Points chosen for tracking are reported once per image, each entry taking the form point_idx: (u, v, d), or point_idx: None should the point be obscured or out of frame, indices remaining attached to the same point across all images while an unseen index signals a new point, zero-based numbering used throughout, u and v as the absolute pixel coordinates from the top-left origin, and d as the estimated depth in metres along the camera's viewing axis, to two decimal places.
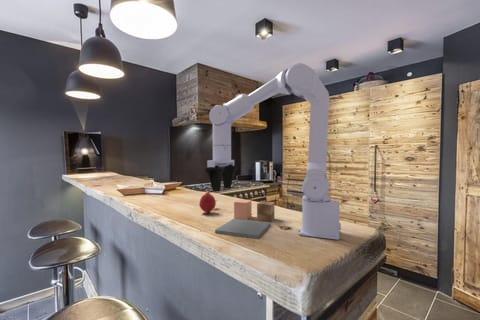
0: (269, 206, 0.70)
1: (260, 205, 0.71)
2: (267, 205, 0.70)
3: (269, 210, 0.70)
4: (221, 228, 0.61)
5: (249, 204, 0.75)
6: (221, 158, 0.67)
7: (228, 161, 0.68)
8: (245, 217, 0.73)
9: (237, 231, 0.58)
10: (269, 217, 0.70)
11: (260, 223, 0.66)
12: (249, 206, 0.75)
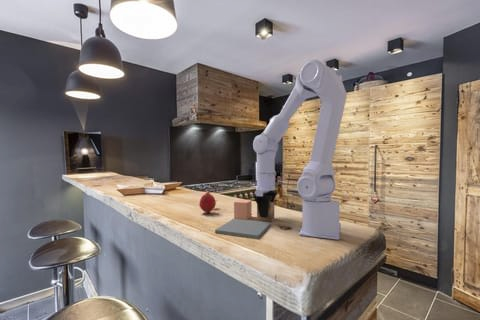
0: (269, 206, 0.70)
1: None
2: None
3: (269, 210, 0.70)
4: (221, 228, 0.61)
5: (249, 204, 0.75)
6: (267, 186, 0.70)
7: (273, 188, 0.70)
8: (245, 217, 0.73)
9: (237, 231, 0.58)
10: (269, 217, 0.70)
11: (260, 223, 0.66)
12: (249, 206, 0.75)
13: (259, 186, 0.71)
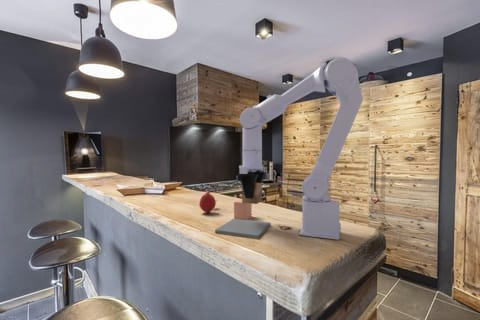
0: (255, 186, 0.64)
1: None
2: None
3: (255, 190, 0.64)
4: (221, 228, 0.61)
5: (249, 204, 0.75)
6: (253, 164, 0.64)
7: (260, 167, 0.64)
8: (245, 217, 0.73)
9: (237, 231, 0.58)
10: (255, 198, 0.64)
11: (260, 223, 0.66)
12: (249, 206, 0.75)
13: (244, 164, 0.65)
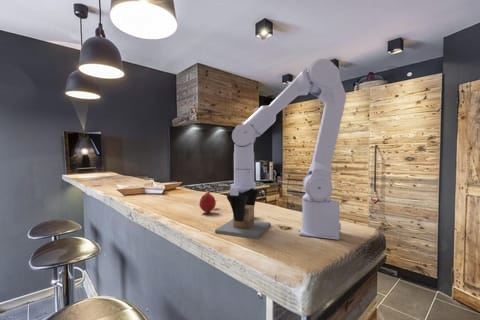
0: (246, 210, 0.60)
1: None
2: None
3: (246, 215, 0.60)
4: (221, 228, 0.61)
5: None
6: (244, 184, 0.60)
7: (252, 187, 0.61)
8: None
9: (237, 231, 0.58)
10: (246, 223, 0.60)
11: (260, 223, 0.66)
12: None
13: (236, 184, 0.61)
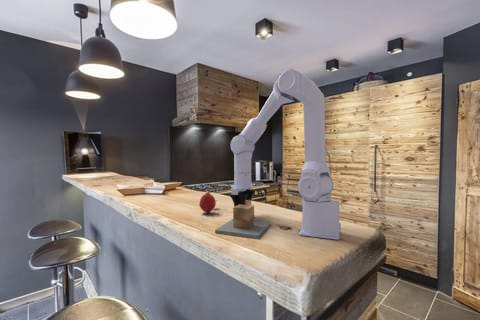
0: (246, 210, 0.60)
1: (236, 209, 0.61)
2: (244, 209, 0.61)
3: (246, 215, 0.60)
4: (221, 228, 0.61)
5: (249, 204, 0.75)
6: (243, 185, 0.73)
7: (249, 187, 0.73)
8: None
9: (237, 231, 0.58)
10: (246, 223, 0.60)
11: (260, 223, 0.66)
12: None
13: (236, 185, 0.74)
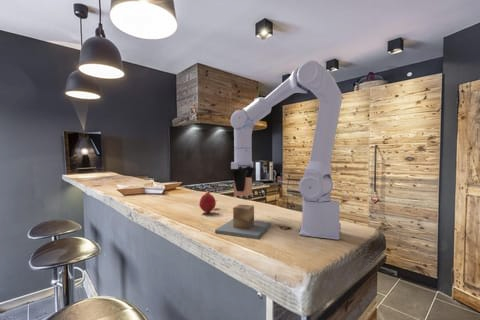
0: (246, 210, 0.60)
1: (236, 209, 0.61)
2: (244, 209, 0.61)
3: (246, 215, 0.60)
4: (221, 228, 0.61)
5: (249, 181, 0.73)
6: (243, 161, 0.71)
7: (249, 163, 0.72)
8: (245, 193, 0.71)
9: (237, 231, 0.58)
10: (246, 223, 0.60)
11: (260, 223, 0.66)
12: (249, 183, 0.73)
13: (236, 161, 0.72)
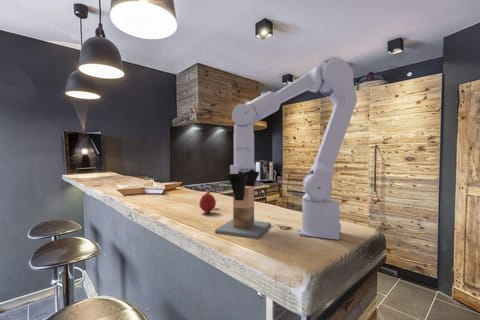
0: (246, 210, 0.60)
1: (236, 209, 0.61)
2: (244, 209, 0.61)
3: (246, 215, 0.60)
4: (221, 228, 0.61)
5: (251, 190, 0.63)
6: (244, 164, 0.60)
7: (252, 166, 0.61)
8: (246, 205, 0.60)
9: (237, 231, 0.58)
10: (246, 223, 0.60)
11: (260, 223, 0.66)
12: (251, 193, 0.63)
13: (236, 164, 0.61)
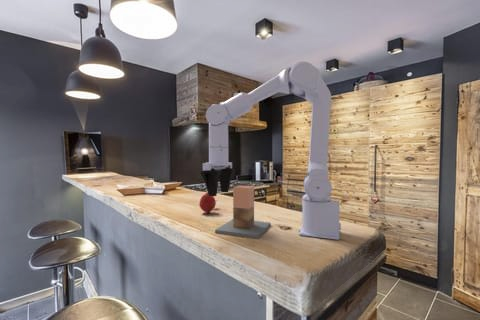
0: (246, 210, 0.60)
1: (236, 209, 0.61)
2: (244, 209, 0.61)
3: (246, 215, 0.60)
4: (221, 228, 0.61)
5: (251, 190, 0.63)
6: (218, 161, 0.63)
7: (225, 164, 0.64)
8: (246, 205, 0.60)
9: (237, 231, 0.58)
10: (246, 223, 0.60)
11: (260, 223, 0.66)
12: (251, 193, 0.63)
13: (210, 161, 0.64)
